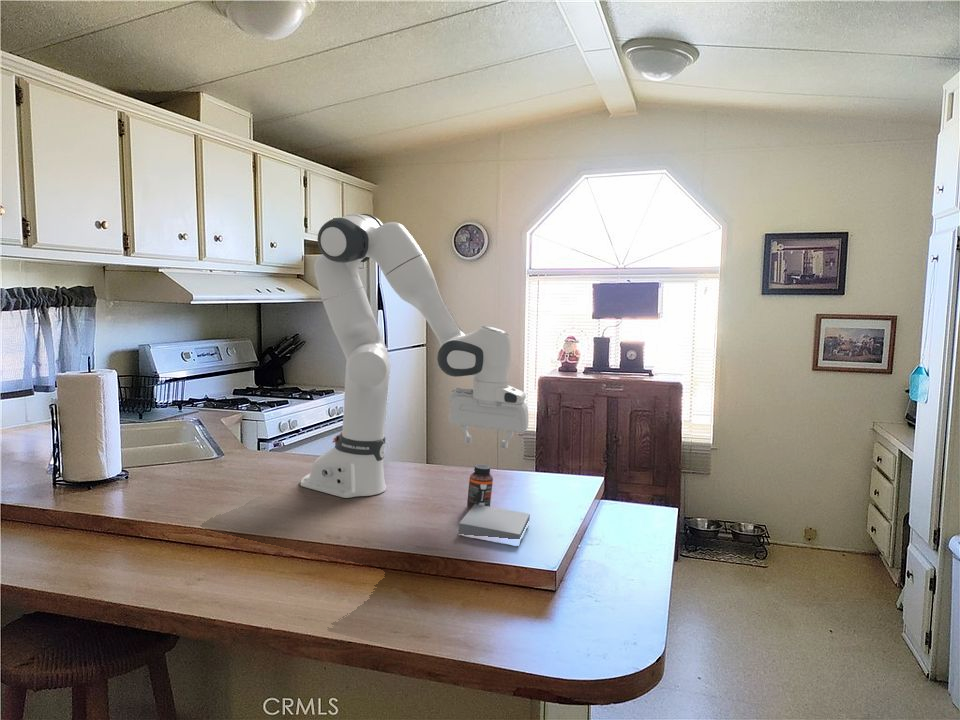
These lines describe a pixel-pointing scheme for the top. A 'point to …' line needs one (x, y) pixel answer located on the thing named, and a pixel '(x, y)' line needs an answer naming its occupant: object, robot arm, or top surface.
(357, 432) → the robot arm
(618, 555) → the top surface
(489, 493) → the supplement bottle
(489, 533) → the plinth
